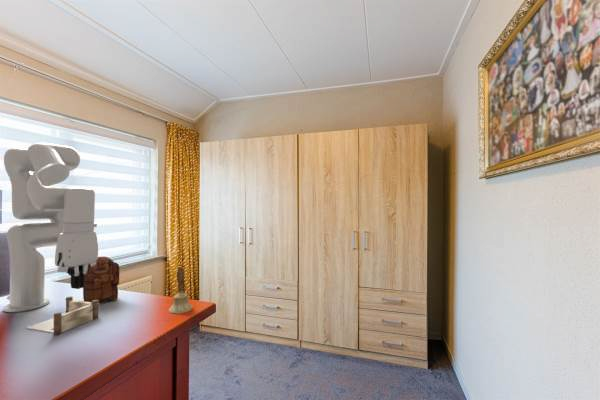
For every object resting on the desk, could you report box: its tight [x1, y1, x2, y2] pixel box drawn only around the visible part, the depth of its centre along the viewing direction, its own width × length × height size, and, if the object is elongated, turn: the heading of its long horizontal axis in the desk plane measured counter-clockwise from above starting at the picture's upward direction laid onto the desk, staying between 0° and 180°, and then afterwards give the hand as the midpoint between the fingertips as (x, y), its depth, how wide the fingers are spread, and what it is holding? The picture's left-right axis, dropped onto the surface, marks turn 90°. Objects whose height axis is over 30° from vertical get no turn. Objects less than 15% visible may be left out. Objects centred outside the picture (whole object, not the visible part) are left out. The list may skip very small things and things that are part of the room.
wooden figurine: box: [82, 256, 120, 305], centre depth 113 cm, size 12×6×18 cm, turn 129°
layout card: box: [26, 317, 54, 334], centre depth 92 cm, size 12×10×1 cm
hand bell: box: [168, 266, 193, 315], centre depth 105 cm, size 8×8×16 cm
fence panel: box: [53, 304, 94, 336], centre depth 90 cm, size 12×2×6 cm, turn 166°
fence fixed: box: [65, 296, 100, 320], centre depth 99 cm, size 14×2×6 cm, turn 74°
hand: (77, 287), depth 86 cm, fingers closed
